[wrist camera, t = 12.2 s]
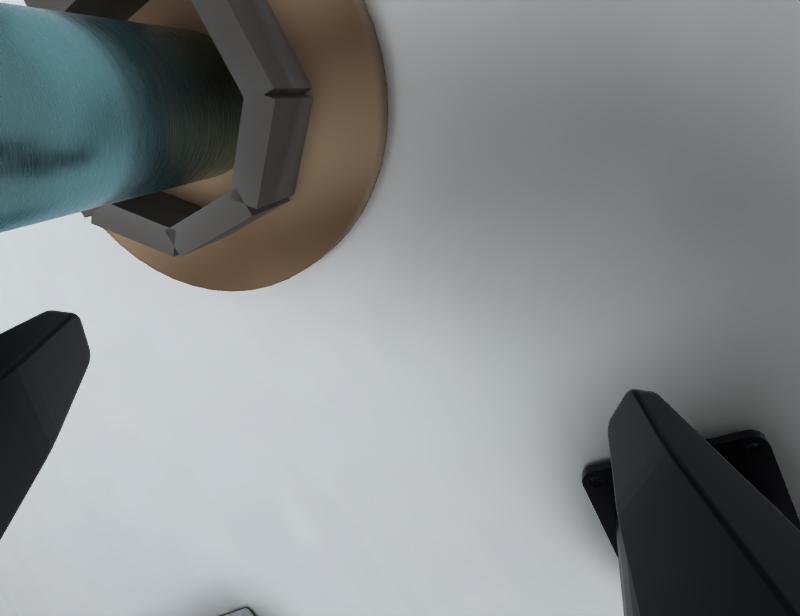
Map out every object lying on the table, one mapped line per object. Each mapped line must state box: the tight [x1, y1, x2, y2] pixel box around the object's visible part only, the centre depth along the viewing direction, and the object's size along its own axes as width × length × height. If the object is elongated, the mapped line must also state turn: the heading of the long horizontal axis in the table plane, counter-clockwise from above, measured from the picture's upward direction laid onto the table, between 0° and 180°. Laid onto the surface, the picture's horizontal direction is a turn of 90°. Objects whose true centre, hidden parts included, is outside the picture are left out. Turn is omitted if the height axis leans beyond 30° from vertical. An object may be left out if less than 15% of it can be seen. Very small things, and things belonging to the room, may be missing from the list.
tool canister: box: [0, 3, 244, 232], centre depth 14 cm, size 5×5×12 cm
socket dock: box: [24, 0, 388, 291], centre depth 19 cm, size 14×14×4 cm
